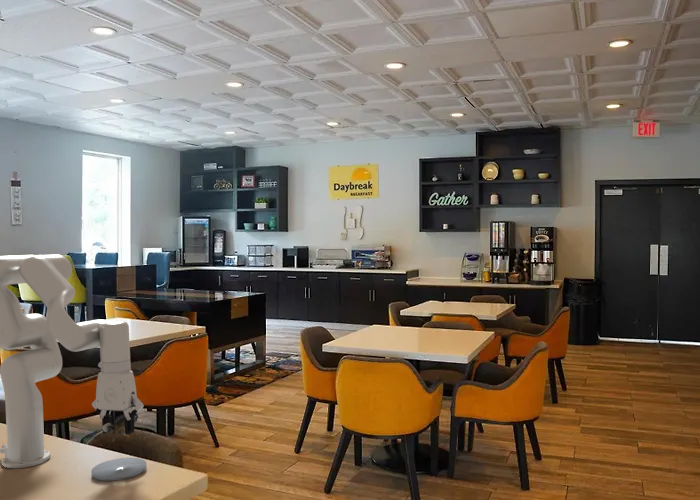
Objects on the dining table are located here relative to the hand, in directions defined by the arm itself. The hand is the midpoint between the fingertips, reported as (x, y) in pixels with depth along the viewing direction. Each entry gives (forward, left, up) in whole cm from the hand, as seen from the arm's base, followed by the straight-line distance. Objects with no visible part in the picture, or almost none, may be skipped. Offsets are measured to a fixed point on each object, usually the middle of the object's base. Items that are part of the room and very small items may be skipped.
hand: (118, 432), depth 169 cm
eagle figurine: (0, +2, -2) cm, 3 cm away
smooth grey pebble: (0, 0, -11) cm, 11 cm away
